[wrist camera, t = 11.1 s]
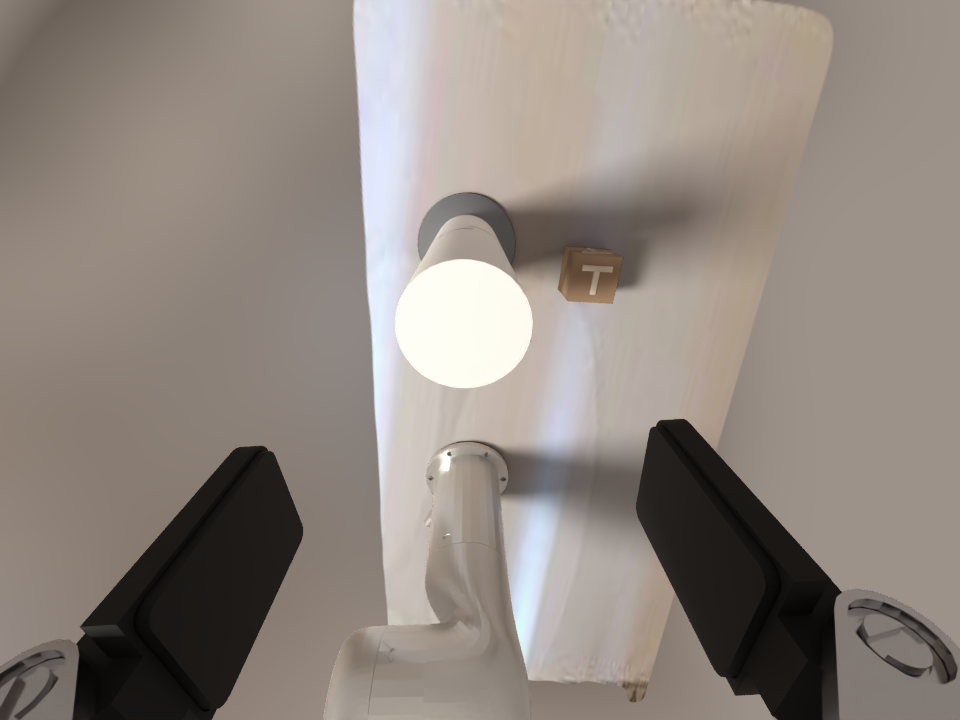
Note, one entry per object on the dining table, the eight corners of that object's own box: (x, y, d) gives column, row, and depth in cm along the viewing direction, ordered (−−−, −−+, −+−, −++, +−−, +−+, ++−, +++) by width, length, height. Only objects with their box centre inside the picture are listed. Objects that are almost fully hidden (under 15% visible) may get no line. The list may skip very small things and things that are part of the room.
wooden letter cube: (598, 291, 45) (613, 304, 40) (557, 288, 44) (568, 301, 40) (607, 247, 42) (624, 256, 38) (565, 245, 42) (576, 253, 37)
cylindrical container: (430, 217, 40) (382, 265, 17) (496, 211, 40) (531, 252, 17) (439, 282, 43) (407, 393, 21) (499, 276, 43) (533, 382, 21)
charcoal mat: (481, 309, 45) (481, 310, 45) (401, 261, 42) (400, 261, 42) (533, 230, 41) (534, 230, 41) (449, 170, 38) (449, 170, 38)
